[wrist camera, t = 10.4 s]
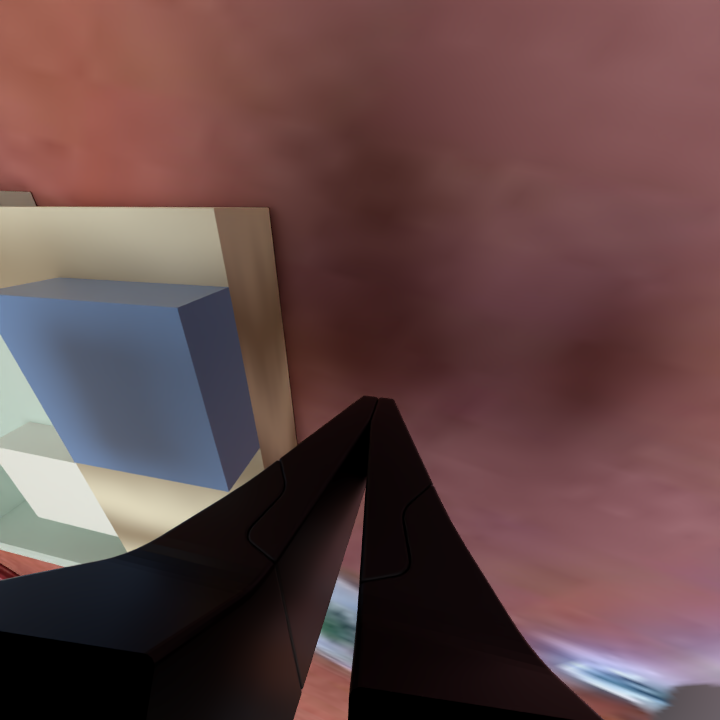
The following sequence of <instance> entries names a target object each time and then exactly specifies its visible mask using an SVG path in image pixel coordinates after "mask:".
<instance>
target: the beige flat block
mask: <svg viewBox="0 0 720 720" xmlns="http://www.w3.org/2000/svg"><path fill="white" fill-rule="evenodd" d="M58 277H62V278H79V279H97V280H114V281H132V282H149V283H167V284H184V285H202V286H219V287H229V291H230V296H231V301H232V306H233V311H234V317H235V322H236V327H237V332H238V337H239V342H240V347H241V353H242V358H243V363H244V368H245V373H246V378H247V383H248V389H249V394H250V399H251V404H252V409H253V414H254V419H255V425H256V430H257V435H258V440H259V445H260V448H259V450H258V451H257V453H256V454H255V456H254V457H253V458H252V460H251V461H250V463H249V464H248V466H247V467H246V468H245V470H244V471H243V473H242V474H241V475H240V477H239V478H238V480H237V481H236V483H235V484H234V485H233V487H232V488H231V490H230V491H229V492H226V491H221V490H216V489H211V488H205V487H200V486H195V485H190V484H185V483H179V482H174V481H169V480H164V479H158V478H153V477H148V476H143V475H137V474H132V473H127V472H122V471H116V470H111V469H106V468H101V467H95V466H90V465H85V464H80V463H76V464H77V466H78V468H79V470H80V471H81V473H82V475H83V477H84V478H85V480H86V482H87V483H88V485H89V487H90V489H91V490H92V492H93V494H94V496H95V497H96V499H97V501H98V502H99V504H100V506H101V508H102V509H103V511H104V513H105V515H106V516H107V518H108V520H109V521H110V523H111V525H112V527H113V528H114V530H115V532H116V533H117V535H118V537H119V539H120V540H121V542H122V544H123V546H124V547H125V549H126V551H127V552H129V551H132V550H134V549H137V548H139V547H141V546H143V545H145V544H147V543H149V542H151V541H153V540H154V539H156V538H158V537H160V536H161V535H163V534H165V533H166V532H168V531H169V530H171V529H173V528H174V527H176V526H178V525H179V524H181V523H182V522H184V521H186V520H187V519H189V518H191V517H192V516H194V515H195V514H197V513H199V512H200V511H202V510H204V509H205V508H207V507H208V506H210V505H212V504H213V503H215V502H217V501H218V500H220V499H221V498H223V497H225V496H226V495H228V494H229V493H231V492H232V491H234V490H235V489H237V488H239V487H240V486H242V485H243V484H245V483H246V482H248V481H249V480H250V479H252V478H253V477H255V476H256V475H258V474H259V473H260V472H262V471H263V470H265V469H266V468H267V467H269V466H270V465H271V464H273V463H274V462H275V461H277V460H279V459H280V458H281V457H282V456H284V455H285V454H286V453H288V452H289V451H290V450H292V449H293V448H294V447H296V446H297V440H296V432H295V423H294V415H293V407H292V398H291V390H290V382H289V373H288V365H287V357H286V348H285V340H284V332H283V323H282V315H281V307H280V298H279V290H278V282H277V273H276V265H275V257H274V248H273V240H272V232H271V223H270V215H269V208H260V207H65V206H0V288H5V287H11V286H16V285H21V284H26V283H32V282H37V281H42V280H47V279H53V278H58Z"/></svg>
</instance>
